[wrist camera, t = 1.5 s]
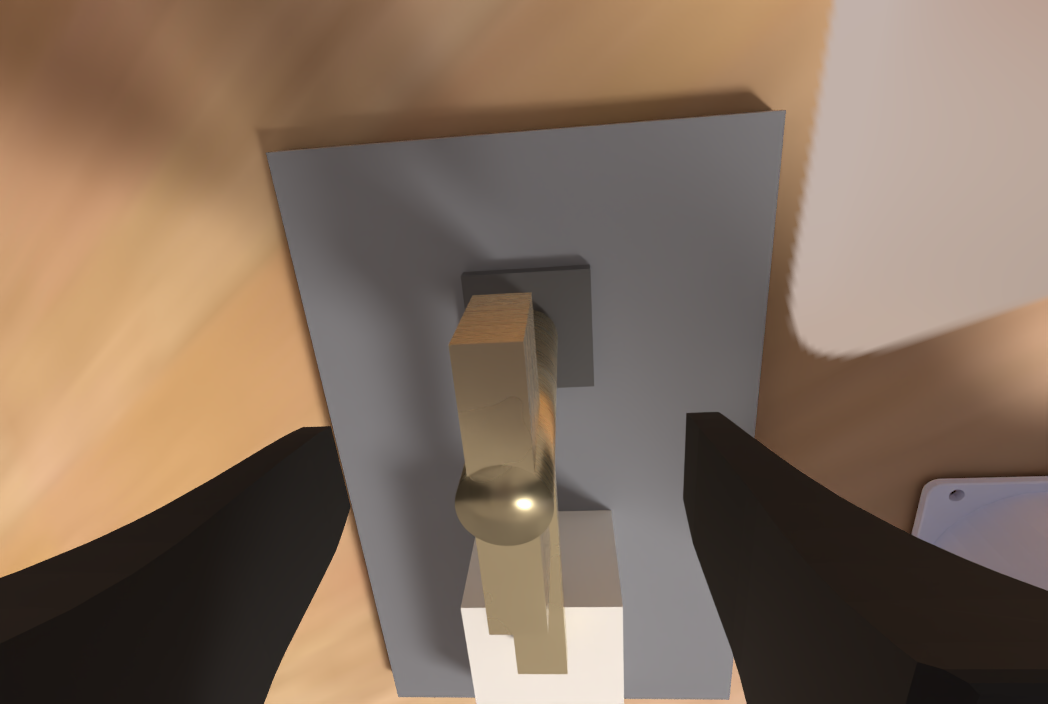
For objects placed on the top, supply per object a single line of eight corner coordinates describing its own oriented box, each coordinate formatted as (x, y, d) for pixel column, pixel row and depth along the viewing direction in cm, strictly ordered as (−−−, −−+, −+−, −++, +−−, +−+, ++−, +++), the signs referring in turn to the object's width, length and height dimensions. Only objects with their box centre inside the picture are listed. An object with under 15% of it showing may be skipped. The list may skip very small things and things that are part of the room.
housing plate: (773, 110, 16) (792, 110, 15) (723, 678, 26) (732, 710, 24) (281, 150, 18) (257, 154, 16) (403, 676, 27) (395, 707, 26)
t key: (551, 233, 16) (542, 340, 9) (570, 557, 21) (575, 807, 14) (490, 237, 17) (430, 345, 9) (523, 557, 21) (501, 805, 14)
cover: (611, 510, 21) (622, 606, 17) (614, 690, 25) (625, 805, 21) (480, 513, 22) (460, 608, 18) (503, 690, 26) (492, 802, 21)
